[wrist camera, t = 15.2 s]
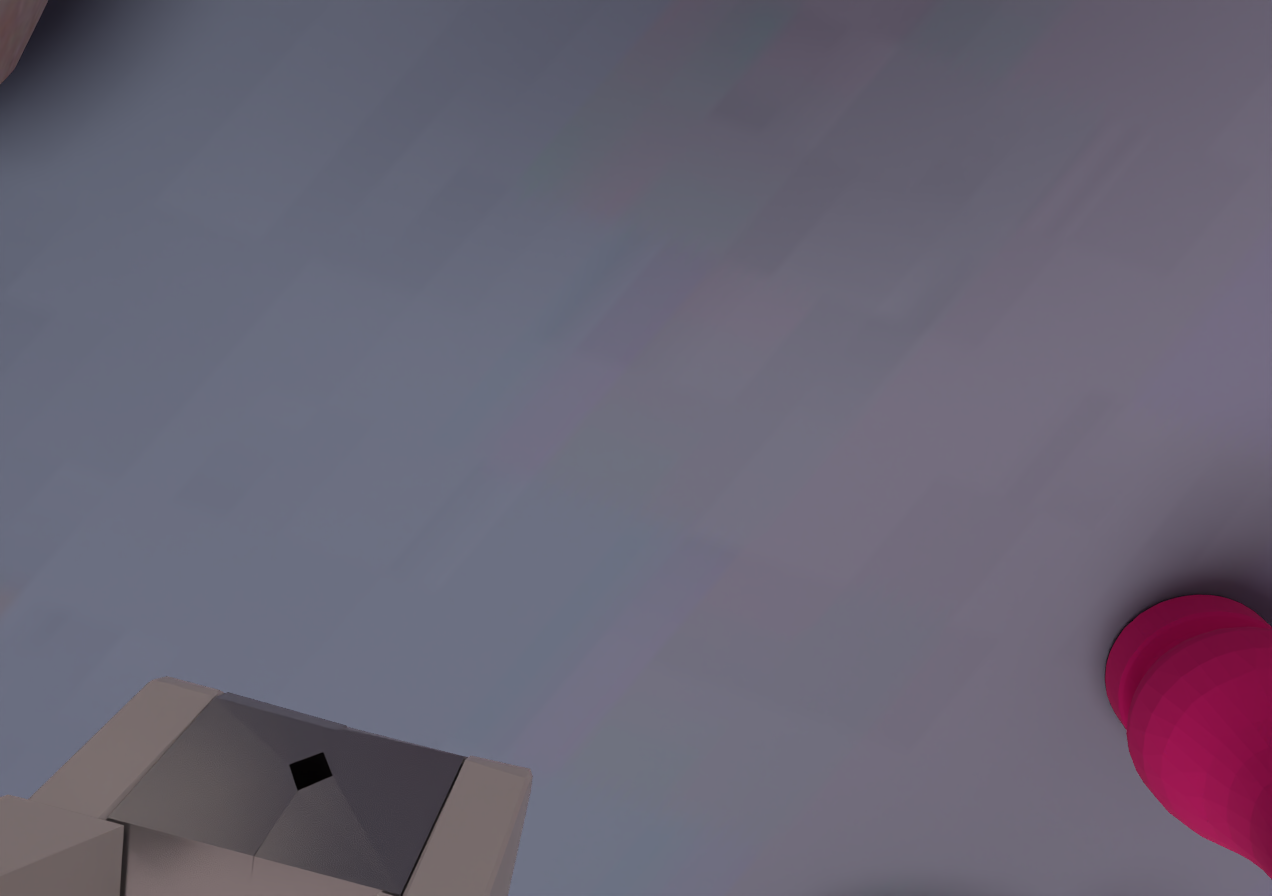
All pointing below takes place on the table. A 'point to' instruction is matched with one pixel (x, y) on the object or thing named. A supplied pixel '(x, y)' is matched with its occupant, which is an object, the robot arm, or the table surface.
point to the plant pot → (16, 30)
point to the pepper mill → (1201, 716)
